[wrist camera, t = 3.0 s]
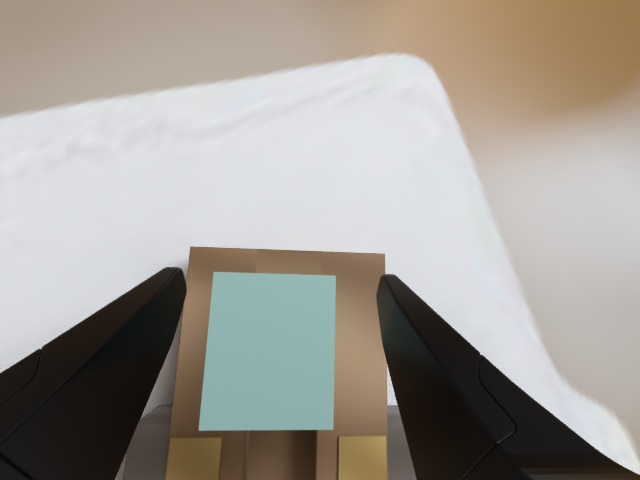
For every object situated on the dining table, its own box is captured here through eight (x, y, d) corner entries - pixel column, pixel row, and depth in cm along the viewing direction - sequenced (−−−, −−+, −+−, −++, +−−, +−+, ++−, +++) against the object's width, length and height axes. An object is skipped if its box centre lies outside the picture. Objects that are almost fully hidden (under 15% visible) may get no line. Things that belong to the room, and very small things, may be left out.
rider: (311, 345, 14) (333, 429, 5) (260, 344, 14) (198, 430, 5) (313, 286, 14) (335, 275, 6) (264, 285, 14) (213, 271, 6)
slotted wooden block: (409, 660, 13) (437, 752, 10) (125, 678, 12) (79, 783, 9) (399, 260, 16) (418, 254, 14) (177, 253, 15) (152, 244, 13)
